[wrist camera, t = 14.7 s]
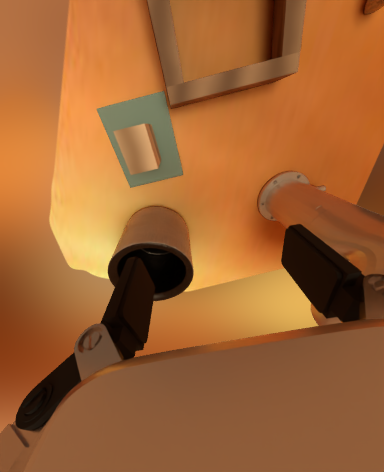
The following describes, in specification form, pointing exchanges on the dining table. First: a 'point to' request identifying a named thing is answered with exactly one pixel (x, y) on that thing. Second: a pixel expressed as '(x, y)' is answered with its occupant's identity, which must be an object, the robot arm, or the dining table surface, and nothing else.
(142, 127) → the beech block
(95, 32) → the dining table surface
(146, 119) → the mat
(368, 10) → the cuneiform tablet
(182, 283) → the planter
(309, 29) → the dining table surface
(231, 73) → the box
